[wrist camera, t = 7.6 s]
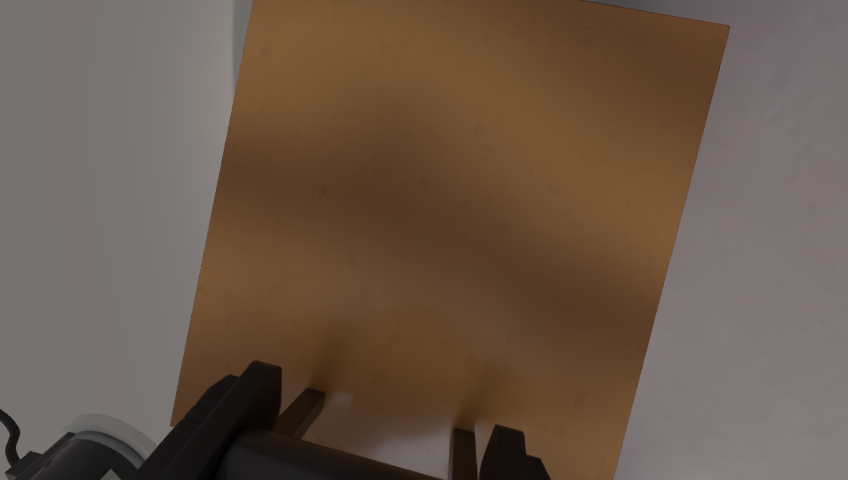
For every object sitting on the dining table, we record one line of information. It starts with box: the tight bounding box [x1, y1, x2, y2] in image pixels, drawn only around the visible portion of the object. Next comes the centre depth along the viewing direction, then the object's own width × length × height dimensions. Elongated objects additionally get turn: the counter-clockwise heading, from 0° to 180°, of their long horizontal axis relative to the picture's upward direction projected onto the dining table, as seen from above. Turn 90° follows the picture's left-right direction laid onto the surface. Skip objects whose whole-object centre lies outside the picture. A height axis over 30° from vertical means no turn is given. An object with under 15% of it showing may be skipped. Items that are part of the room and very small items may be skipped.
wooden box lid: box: [170, 0, 730, 480], centre depth 11 cm, size 16×15×6 cm
